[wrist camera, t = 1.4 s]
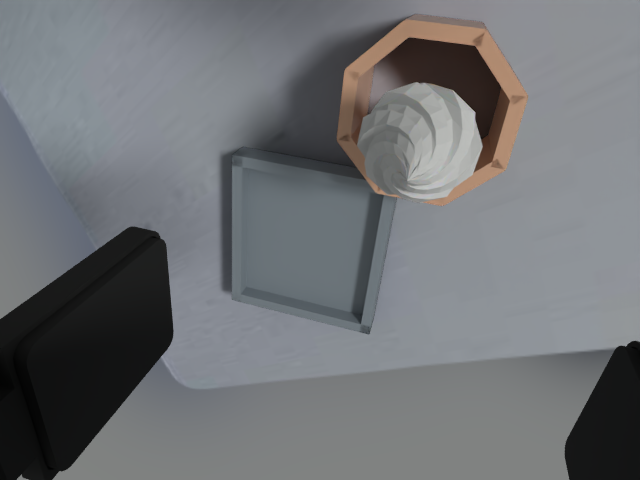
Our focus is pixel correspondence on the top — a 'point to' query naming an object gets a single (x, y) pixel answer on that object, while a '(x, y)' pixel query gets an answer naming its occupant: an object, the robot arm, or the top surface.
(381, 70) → the top surface
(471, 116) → the ice cream cone
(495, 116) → the holder cup
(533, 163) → the top surface
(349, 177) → the slate tray
